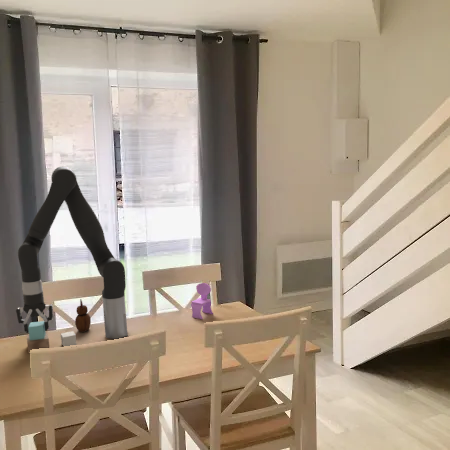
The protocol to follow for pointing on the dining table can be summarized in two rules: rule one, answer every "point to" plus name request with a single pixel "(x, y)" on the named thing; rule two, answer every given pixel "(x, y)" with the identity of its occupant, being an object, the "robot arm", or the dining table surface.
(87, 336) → the dining table surface
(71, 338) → the grey cube
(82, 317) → the wooden figurine
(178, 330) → the dining table surface
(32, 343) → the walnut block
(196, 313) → the toy chair
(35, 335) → the teal cube
